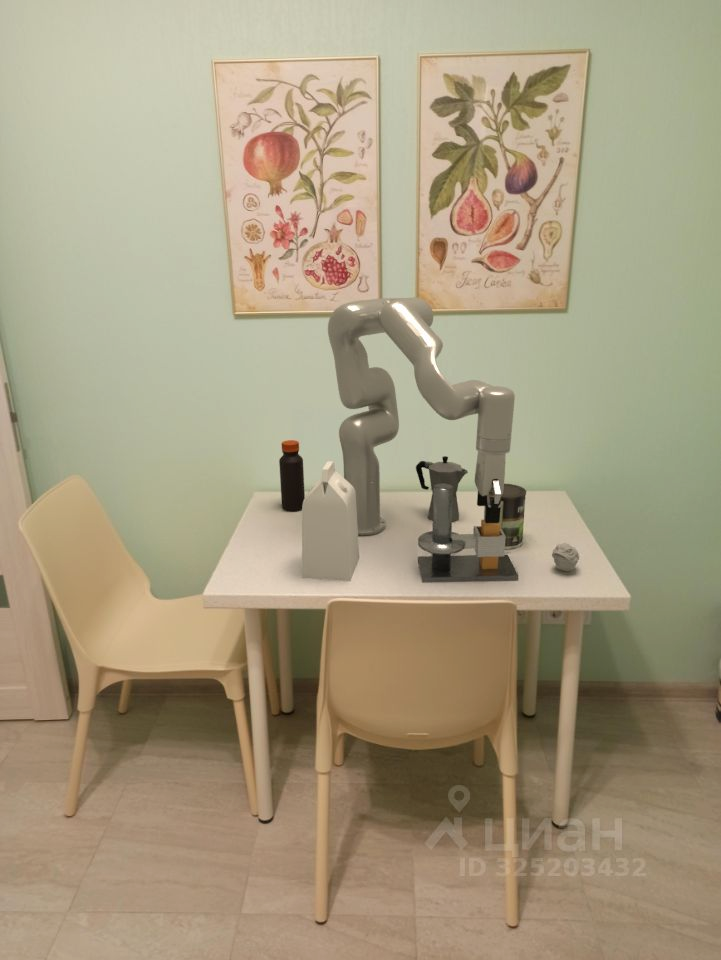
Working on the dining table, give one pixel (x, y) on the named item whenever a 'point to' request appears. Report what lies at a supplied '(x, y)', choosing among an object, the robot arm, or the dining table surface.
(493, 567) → the orange rectangular block
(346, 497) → the milk
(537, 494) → the dining table surface
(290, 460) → the vinegar
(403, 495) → the dining table surface
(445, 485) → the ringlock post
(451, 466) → the coffeepot
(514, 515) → the coffee can
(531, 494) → the dining table surface
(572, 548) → the plaster head sculpture
